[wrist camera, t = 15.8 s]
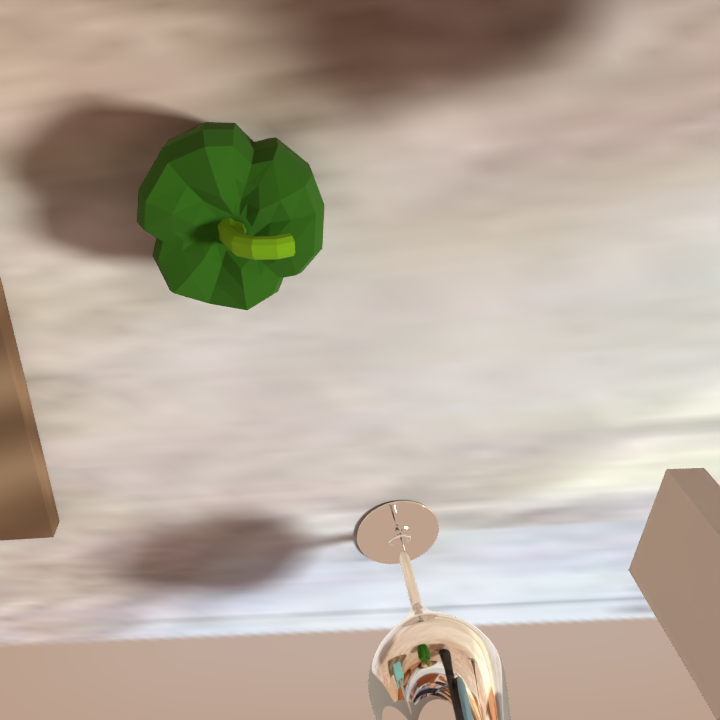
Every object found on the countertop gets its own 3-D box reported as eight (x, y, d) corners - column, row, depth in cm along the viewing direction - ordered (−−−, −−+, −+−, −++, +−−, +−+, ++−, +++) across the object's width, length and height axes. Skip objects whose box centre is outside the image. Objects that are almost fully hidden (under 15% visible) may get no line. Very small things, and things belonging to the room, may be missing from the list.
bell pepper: (140, 235, 35) (102, 313, 26) (176, 83, 32) (145, 117, 23) (286, 279, 38) (295, 363, 29) (334, 142, 34) (360, 192, 25)
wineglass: (327, 556, 49) (358, 814, 34) (373, 478, 46) (432, 723, 30) (418, 578, 52) (486, 826, 36) (468, 506, 49) (566, 744, 33)
